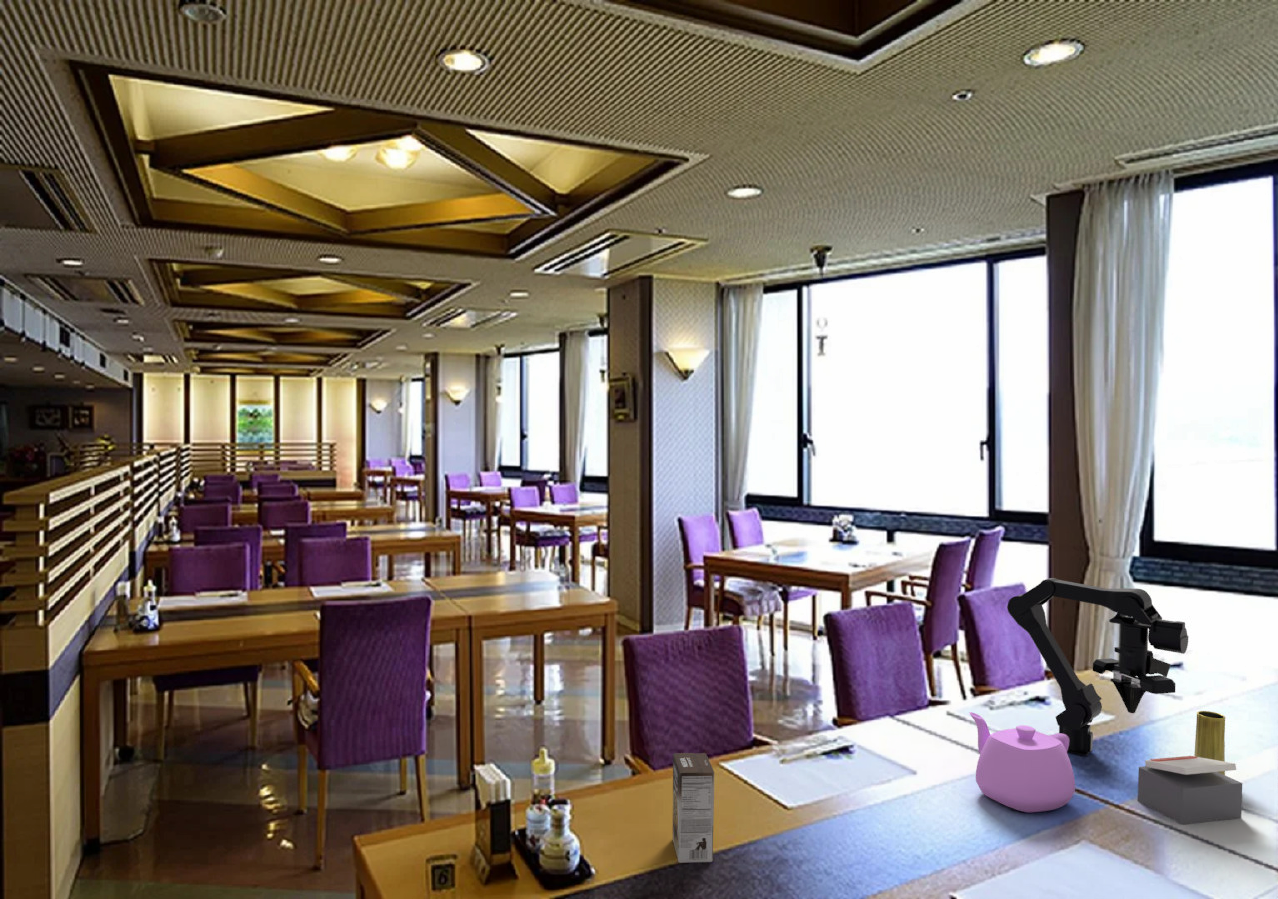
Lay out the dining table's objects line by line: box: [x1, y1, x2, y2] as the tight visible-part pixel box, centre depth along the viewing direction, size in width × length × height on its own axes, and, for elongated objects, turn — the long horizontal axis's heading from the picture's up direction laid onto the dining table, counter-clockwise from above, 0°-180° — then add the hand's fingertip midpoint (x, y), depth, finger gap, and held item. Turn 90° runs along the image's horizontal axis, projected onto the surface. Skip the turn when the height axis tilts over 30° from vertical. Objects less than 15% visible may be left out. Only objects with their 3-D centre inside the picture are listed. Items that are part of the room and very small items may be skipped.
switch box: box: [1137, 765, 1243, 825], centre depth 175 cm, size 11×14×7 cm
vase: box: [1193, 710, 1226, 776], centre depth 191 cm, size 6×6×14 cm
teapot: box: [968, 712, 1076, 814], centre depth 182 cm, size 23×21×15 cm
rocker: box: [1144, 755, 1237, 775], centre depth 175 cm, size 10×12×1 cm
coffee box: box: [672, 752, 715, 864], centre depth 156 cm, size 9×6×16 cm
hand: (1131, 712), depth 198 cm, fingers closed
